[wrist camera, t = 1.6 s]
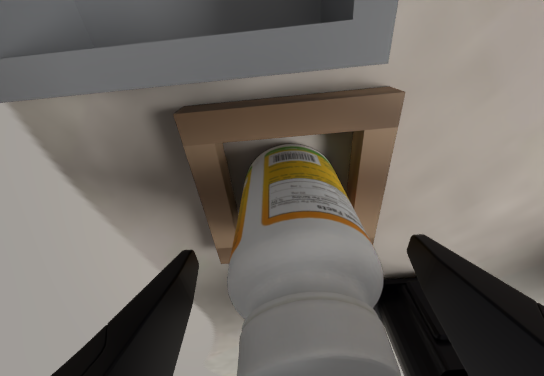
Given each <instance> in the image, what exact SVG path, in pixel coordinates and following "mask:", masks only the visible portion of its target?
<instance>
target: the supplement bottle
mask: <svg viewBox="0 0 544 376" xmlns="http://www.w3.org/2000/svg"><path fill="white" fill-rule="evenodd" d="M383 280H384V279H383V269H382V266H381V262H380V260H379V258H378V255H377V253H376V251H375V249H374V247H373V245H372V243H371V241H370V239H369V237H368V235H367V233H366V231H365V230H364V228H363V226H362V224H361V222H360V220H359V218H358V216H357V214H356V212H355V210H354V209H353V206H352V204H351V203H350V201H349V199H348V197H347V195H346V193H345V191H344V189H343V187H342V185H341V183H340V181H339V179H338V177H337V175H336V173H335V171H334V169H333V168H332V166H331V164H330V163H329V161H328V160H327V159H326V158H325V156H323V155H322V154H321V153H320V152H318V151H316V150H315V149H313V148H310V147H307V146H304V145H299V144H285V145H279V146H276V147H273V148H271V149H269V150H267V151H265V152H263V153H262V154H261V155H260V156H258V157H257V158H256V159H255V161H254V162H253V163H252V164H251V166H250V168H249V170H248V172H247V175H246V178H245V182H244V188H243V194H242V199H241V205H240V210H239V215H238V221H237V226H236V231H235V236H234V241H233V246H232V251H231V256H230V262H229V269H228V277H227V287H228V293H229V297H230V299H231V302H232V304H233V306H234V307H235V309H236V310H237V312H238V313H239V314H240V315H241V316H242V317H243V318H244V319H245V321H244V323H243V326H242V333H241V335H240V342H239V359H238V371H237V376H401V374H400V370H399V367H398V364H397V361H396V359H395V356H394V353H393V350H392V348H391V345H390V342H389V339H388V337H387V334H386V330H385V328H384V325H383V323H382V322H381V320H380V319H379V317H378V315H377V313H376V312H375V310H374V309H373V307H374V306H375V305H376V303H377V302H378V300H379V298H380V295H381V292H382V288H383Z"/></svg>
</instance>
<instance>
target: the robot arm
mask: <svg viewBox="0 0 544 376" xmlns="http://www.w3.org/2000/svg"><path fill="white" fill-rule="evenodd" d="M407 254H408V257H409V259H410V261H411V264H412V266H413V269H414V271H415V273H416V276H417V278H405V279H388V280H383V288H382V292H381V295H380V298H379V300H378V302H377V303H376V305H375V306H374V307H373V309H374V310H375V312H376V313H377V315H378V317H379V319H380V320H381V322H382V323H383V325H384V327H385V329H386V332H387V334H388V337H389V339H390V342H391V344H392V347H393V349H394V351H395V354H396V356H397V359H398V361H399V364H400V366H401V369H402V371H403V374H404V376H544V306H543V305H541V304H540V303H536V301H534V300H533V299H531V298H529V297H528V296H526V295H524V294H523V293H521V292H519V291H518V290H516V289H514V288H513V287H511V286H509V285H508V284H506V283H504V282H503V281H501V280H499V279H498V278H496V277H494V276H493V275H491V274H489V273H488V272H486V271H484V270H483V269H481V268H479V267H478V266H476V265H474V264H472V263H471V262H469V261H467V260H466V259H464V258H462V257H461V256H459V255H457V254H456V253H454V252H452V251H451V250H449V249H447V248H446V247H444V246H442V245H441V244H439V243H437V242H436V241H434V240H432V239H431V238H429V237H427V236H426V235H423V234H419V235H412V236H411V239H410V242H409V245H408V248H407ZM198 269H199V263H198V260H197V257H196V255H195V252H194V251H193V250H183V251H182V252H181V253H180V254H179V255H178V256H177V257H176V258H175V259H173V260H172V261H171V262H170V263H169V264H168V265H167V266H166V267H165V268H164V269H163V270H162V271H161V272H160V273H159V274H158V275H157V276H156V277H155V278H154V279H153V280H152V281H151V282H150V283H149V284H148V285H147V286H146V287H145V288H144V289H143V290H142V291H141V292H140V293H139V294H138V295H136V296H135V297H134V298H133V299H132V300H131V301H130V302H129V303H128V304H127V305H126V306H125V307H124V308H123V309H122V310H121V311H120V312H119V313H118V314H117V315H116V316H115V317H114V318H113V319H112V320H111V321H110V322H109V323H108V325H106V326H105V327H104V328H103V329H102V330H101V331H100V332H98V333H97V334H96V335H95V336H94V337H93V338H92V339H91V340H90V341H89V342H88V343H87V344H86V345H85V346H84V347H83V348H81V350H79V351H78V352H77V353H76V354H75V355H74V356H73V357H71V358H70V359H69V360H68V361H67V362H66V363H65V364H64V365H63V366H61V367H60V368H59V369H58V370H57V371H56V372H55V373H53V374H52V375H51V376H173V373H174V370H175V366H176V362H177V359H178V355H179V352H180V348H181V344H182V341H183V337H184V333H185V330H186V326H187V322H188V319H189V316H190V312H191V308H192V304H193V299H194V293H195V287H196V281H197V275H198Z"/></svg>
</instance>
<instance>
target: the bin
mask: <svg viewBox="0 0 544 376" xmlns="http://www.w3.org/2000/svg"><path fill="white" fill-rule="evenodd" d="M397 6H398V0H0V103H3V102H13V101H23V100H33V99H43V98H53V97H62V96H72V95H82V94H92V93H102V92H112V91H121V90H131V89H141V88H151V87H161V86H171V85H181V84H190V83H200V82H210V81H220V80H230V79H240V78H249V77H259V76H269V75H279V74H289V73H299V72H308V71H318V70H328V69H338V68H348V67H358V66H367V65H377V64H387V63H388V61H389V55H390V48H391V42H392V36H393V30H394V24H395V18H396V12H397Z"/></svg>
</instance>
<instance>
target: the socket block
mask: <svg viewBox="0 0 544 376" xmlns="http://www.w3.org/2000/svg"><path fill="white" fill-rule="evenodd" d="M404 96H405V92H404V91H401V90H398V89H395V88H392V87H390V86H389V87H379V88H369V89H358V90H348V91H338V92H327V93H317V94H307V95H296V96H286V97H276V98H266V99H255V100H245V101H235V102H224V103H214V104H204V105H193V106H184V107H183V108H181V109H180V110H178V111H177V112H176V113H174V114H173V116H174V119H175V122H176V125H177V128H178V131H179V134H180V137H181V141H182V144H183V147H184V150H185V153H186V156H187V159H188V162H189V165H190V169H191V172H192V175H193V178H194V181H195V184H196V187H197V190H198V193H199V197H200V200H201V203H202V206H203V209H204V212H205V215H206V218H207V221H208V225H209V228H210V231H211V234H212V237H213V240H214V243H215V246H216V249H217V253H218V256H219V259H220V262H221V264H228V263H229V262H230V256H231V251H232V246H233V241H234V236H235V231H236V226H237V221H238V211H237V206H236V202H235V197H234V193H233V188H232V184H231V179H230V174H229V170H228V165H227V161H226V156H225V152H224V147H223V143H226V142H237V141H248V140H260V139H271V138H282V137H293V136H305V135H316V134H327V133H338V132H350V131H353V138H352V148H351V157H350V166H349V176H348V185H347V197H348V199H349V201H350V203H351V204H352V206H353V209H354V210H355V212H356V214H357V216H358V218H359V220H360V222H361V224H362V226H363V228H364V230H365V231H366V233H367V235H368V237H369V239H370V241H371V243H372V245H373V242H374V237H375V233H376V228H377V223H378V219H379V214H380V209H381V204H382V200H383V195H384V190H385V186H386V181H387V176H388V172H389V167H390V162H391V157H392V153H393V148H394V143H395V139H396V134H397V129H398V125H399V120H400V115H401V110H402V106H403V101H404Z"/></svg>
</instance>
